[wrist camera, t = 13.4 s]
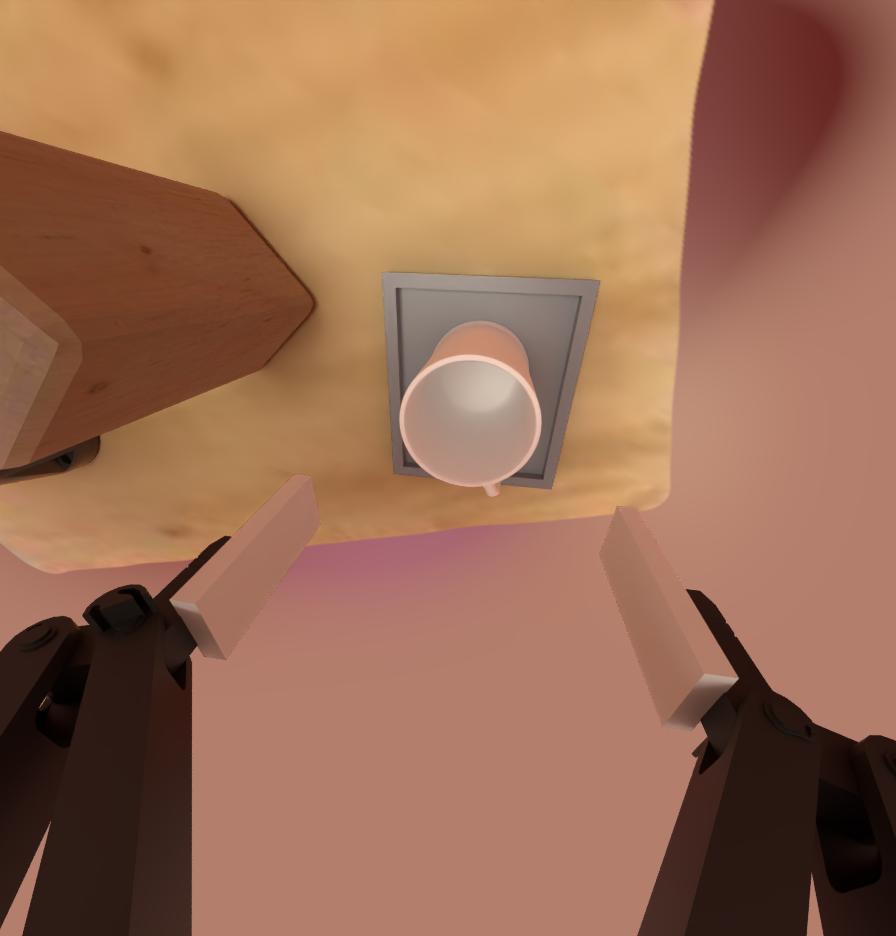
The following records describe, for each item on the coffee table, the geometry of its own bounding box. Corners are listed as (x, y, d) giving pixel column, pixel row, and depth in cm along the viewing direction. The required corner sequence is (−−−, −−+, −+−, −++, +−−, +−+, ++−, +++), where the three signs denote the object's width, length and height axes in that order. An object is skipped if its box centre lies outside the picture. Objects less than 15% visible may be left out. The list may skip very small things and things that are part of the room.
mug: (533, 444, 32) (550, 527, 21) (446, 453, 33) (424, 534, 23) (525, 310, 26) (543, 335, 16) (421, 330, 28) (376, 363, 18)
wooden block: (322, 303, 28) (61, 348, 11) (259, 373, 33) (-4, 485, 15) (225, 188, 25) (-347, 11, 8) (168, 282, 29) (-293, 296, 12)
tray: (398, 465, 36) (393, 474, 34) (388, 271, 27) (381, 271, 25) (549, 479, 34) (551, 489, 33) (594, 280, 25) (600, 280, 24)
